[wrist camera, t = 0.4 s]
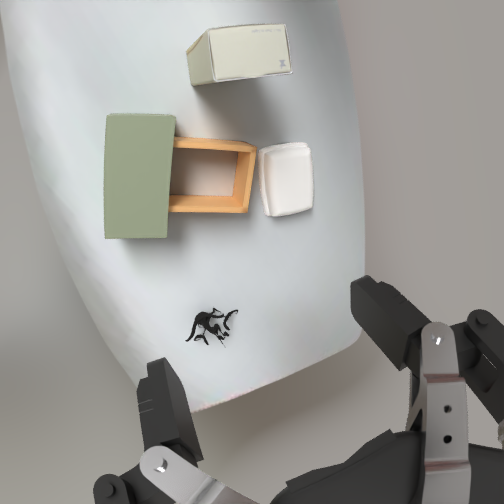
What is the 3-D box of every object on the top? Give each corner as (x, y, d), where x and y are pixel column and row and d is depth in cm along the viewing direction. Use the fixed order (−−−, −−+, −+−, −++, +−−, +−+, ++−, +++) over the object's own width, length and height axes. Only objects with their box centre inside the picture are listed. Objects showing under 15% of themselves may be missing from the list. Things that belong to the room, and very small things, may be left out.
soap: (309, 205, 42) (320, 213, 39) (261, 216, 40) (270, 225, 38) (306, 139, 37) (318, 143, 35) (254, 147, 35) (264, 151, 33)
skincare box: (240, 43, 29) (289, 21, 19) (245, 80, 31) (296, 74, 21) (183, 50, 27) (206, 25, 17) (189, 89, 30) (214, 83, 20)
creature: (243, 312, 47) (216, 287, 42) (258, 339, 44) (232, 317, 38) (202, 341, 47) (171, 321, 42) (215, 369, 44) (183, 352, 38)
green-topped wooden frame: (111, 113, 28) (106, 115, 24) (247, 121, 33) (264, 125, 29) (108, 220, 33) (104, 238, 29) (234, 220, 39) (247, 237, 34)
